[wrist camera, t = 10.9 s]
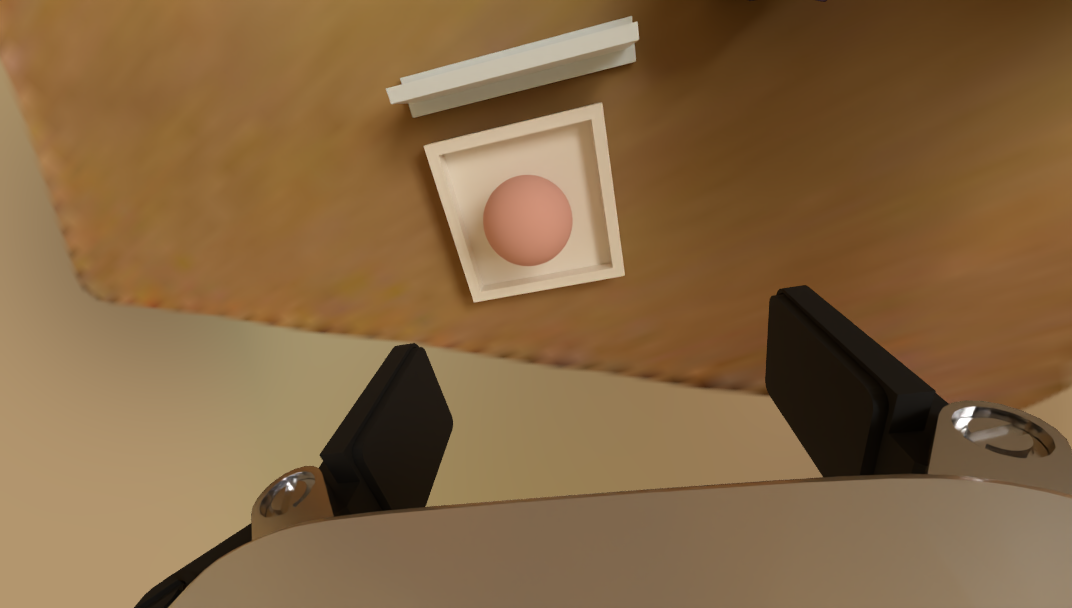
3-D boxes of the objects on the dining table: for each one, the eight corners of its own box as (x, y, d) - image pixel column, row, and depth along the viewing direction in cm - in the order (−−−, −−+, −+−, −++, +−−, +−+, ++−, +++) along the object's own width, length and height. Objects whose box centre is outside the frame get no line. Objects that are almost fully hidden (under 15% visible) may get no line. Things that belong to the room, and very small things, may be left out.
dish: (599, 102, 27) (602, 102, 25) (621, 266, 32) (625, 275, 30) (430, 142, 29) (423, 145, 27) (478, 292, 34) (473, 302, 32)
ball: (564, 159, 28) (562, 175, 23) (578, 240, 31) (580, 271, 25) (482, 177, 29) (462, 196, 24) (503, 254, 32) (489, 287, 26)
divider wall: (630, 17, 25) (645, -1, 20) (634, 62, 26) (650, 54, 21) (403, 78, 27) (372, 74, 22) (415, 117, 28) (388, 121, 23)
